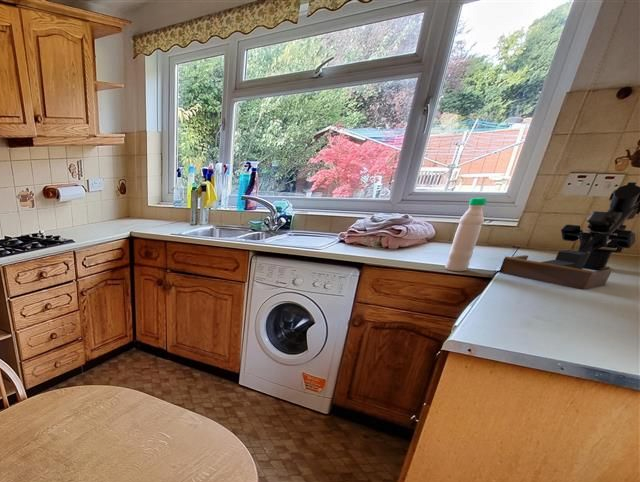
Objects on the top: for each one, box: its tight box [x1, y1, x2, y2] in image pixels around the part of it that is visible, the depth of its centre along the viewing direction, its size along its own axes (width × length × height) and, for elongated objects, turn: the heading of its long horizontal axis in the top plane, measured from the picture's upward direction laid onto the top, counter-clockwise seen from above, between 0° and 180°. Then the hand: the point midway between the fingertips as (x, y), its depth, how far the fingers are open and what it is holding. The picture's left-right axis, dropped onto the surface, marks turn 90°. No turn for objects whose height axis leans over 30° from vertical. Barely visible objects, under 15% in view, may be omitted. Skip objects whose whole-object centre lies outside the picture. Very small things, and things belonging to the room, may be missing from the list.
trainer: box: [541, 249, 589, 270], centre depth 149 cm, size 13×6×8 cm, turn 111°
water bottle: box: [444, 197, 488, 272], centre depth 157 cm, size 7×7×25 cm
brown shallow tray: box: [498, 254, 613, 290], centre depth 148 cm, size 12×25×6 cm, turn 21°
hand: (578, 255), depth 149 cm, fingers closed, pressing on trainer
